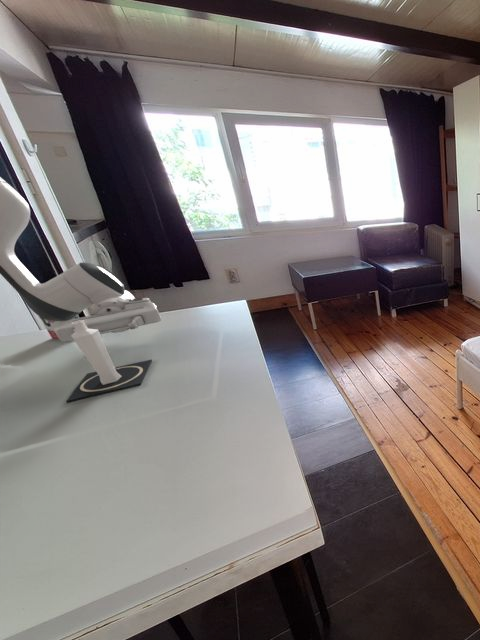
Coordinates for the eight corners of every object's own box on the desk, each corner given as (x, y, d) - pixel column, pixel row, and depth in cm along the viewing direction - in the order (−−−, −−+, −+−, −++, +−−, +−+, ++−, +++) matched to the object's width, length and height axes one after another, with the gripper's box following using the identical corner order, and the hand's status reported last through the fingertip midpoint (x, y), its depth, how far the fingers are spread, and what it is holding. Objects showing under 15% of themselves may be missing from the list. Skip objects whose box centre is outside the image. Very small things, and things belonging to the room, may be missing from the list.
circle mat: (67, 402, 80) (65, 400, 80) (87, 374, 91) (86, 373, 90) (140, 384, 85) (139, 382, 85) (152, 360, 96) (151, 358, 96)
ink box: (51, 338, 113) (28, 302, 108) (69, 331, 117) (48, 297, 112) (71, 340, 111) (49, 303, 106) (89, 333, 115) (68, 298, 110)
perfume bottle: (106, 386, 84) (71, 327, 77) (94, 383, 85) (58, 325, 79) (128, 376, 88) (96, 319, 81) (116, 374, 89) (84, 317, 82)
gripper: (55, 314, 93) (41, 331, 83) (155, 296, 103) (153, 309, 93) (69, 336, 96) (57, 355, 86) (164, 316, 106) (163, 331, 96)
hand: (108, 331), depth 89 cm, fingers open, 8 cm apart
